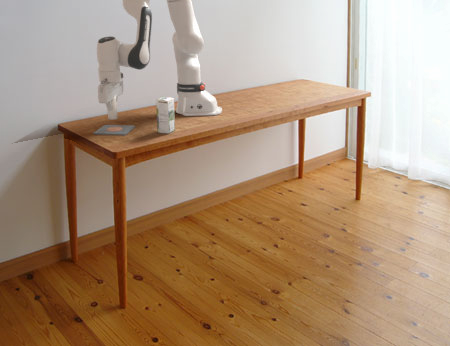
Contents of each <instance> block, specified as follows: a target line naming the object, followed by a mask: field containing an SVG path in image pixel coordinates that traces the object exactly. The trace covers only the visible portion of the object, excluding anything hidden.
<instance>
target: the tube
mask: <svg viewBox="0 0 450 346" xmlns="http://www.w3.org/2000/svg"><path fill="white" fill-rule="evenodd" d="M111 106H112V111H108V110H107V118H108V120H112V121H113V120H117V119H118V117H119V115H118V102H117V103H116V96H115V98H114V99H113V100H111Z"/></svg>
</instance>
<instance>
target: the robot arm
mask: <svg viewBox="0 0 450 346" xmlns="http://www.w3.org/2000/svg"><path fill="white" fill-rule="evenodd" d="M166 3H167V8H168V12H169V17H170V20H171V22H172V24H173V27H174V30H175V31H174V33H173V34H172V39H171V40H172V44H173V51H174V58H175V62H176V70H177V71H176V72H177V74H176V75H177V83H176V92H177V105H176V109H175V113H177V114H178V115H179V114H180V115H182V116H184V117H193V116H195V117H196V116H201V117H202V116H218V115H219V114H221V113H222V112H223V108H222V107H221V106H218V102H217V98H216V97H215V96H214V95H212V93H210V92H209V91H207V90H206V82H204V83H203V82H202V79H201V78H202V77H201V72H202V71H201V64H200V61H199V57H198V54H200V53H201V52H202V51H203V49H204V47H205V41H204V38H203V35H202V33H201V31H200V27H199V23H198V21H197V18H196V15H195V10H194V6H193V2H192V0H166ZM122 7H123V9H124V11H125V12H126V13H127V14H128V15H130V16H132V18H134V19H135V20H136V22H137V29H136V39H135V43H133V44H132V43H124V42H121V41H120V40H118V39H117V38H116V37H115V36H104V37H101V38H99V39H98V40H97V43H96V59H97V60H96V61H97V62H98V68H97V70H98V80H99V81H98V82H99V83H100V84H99V85H98V87H97V100H98V103H99V104H105V106H106V109H107V112H108V111H112V106H111V100H113V99H114V98H115V96H116V103H117V104H118V100H119V96H121V95H123V94H124V78H125V74H124V72H122V71H121V69H120V67H125V68H130V69H135V70H144V69H145V68H146V67H147V66H148V64H149V63H150V60H151V50H150V49H151V48H150V46H151V45H150V44H151V35H152V24H153V13H152V9H150V0H122Z"/></svg>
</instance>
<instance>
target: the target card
mask: <svg viewBox="0 0 450 346" xmlns="http://www.w3.org/2000/svg"><path fill="white" fill-rule="evenodd" d="M135 128H136V126H135V125H128V124H126V125H125V124H123V125H121V124H118V125H117V124H104V125H103V126H101V127H100V128H98V129H97V130H95V131H94V132H93V135H107V136H112V135H113V136H126V135H127V134H128V133H130V132H131V131H132V130H134V129H135Z"/></svg>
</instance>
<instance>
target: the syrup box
mask: <svg viewBox="0 0 450 346" xmlns="http://www.w3.org/2000/svg"><path fill="white" fill-rule="evenodd" d="M155 102H156V104H155V105H156V106H155V107H156V108H155V109H156V127H157V133H159V134H171V133H173V132H175V131H176V121H175V120H176V118H175V116H176V115H175V98H174V97H167V96H163V97H160V98H158V99H156V100H155Z"/></svg>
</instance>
